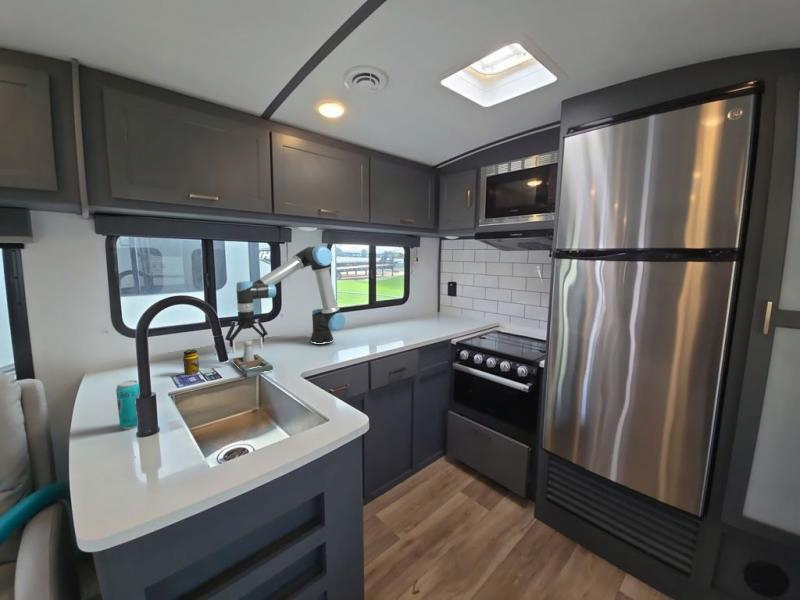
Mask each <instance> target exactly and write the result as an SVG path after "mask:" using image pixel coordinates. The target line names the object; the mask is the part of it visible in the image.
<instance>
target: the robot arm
mask: <svg viewBox="0 0 800 600" xmlns="http://www.w3.org/2000/svg"><path fill="white" fill-rule="evenodd" d="M332 261H333V254H332V251H331V250H330V248H328V247H326V246H322V245H316V246H307V247H305V248H304V249H302V250H300V251H299V252H297V253H296V254H294V255H293V256H292V258H291V259H289V260H288V261H286V262H284V263H283V264H281V265H280V266H278V267H276V268H275V269H273V270H271V271H270V272H268V273H267V274H265V275H264V276H262V277H260V278H258V279H256V281H254V282H252V281H249V280H248V281H247V280H246V281H244V280H243V281H238V282H237V283H236V286H235V287H236V301H237V311H238V312H237V321H234V320H233V321H232V320H231V322H230V323H231V324H230V328H229V329H228V331H227V334H226V336H225V338H224V339H225V341H229V347H230V348H231V351H232V354H236V345H235V344H236V343H235V340H234V339H235V338H236V337H237V336H238V334H240V332H241V331H242V330H247V329H251V328H252V329H253V330H254V331H255V332H256V333H258V335H259V336H258V337H259V339H258V341H259V342H258V343H259V349H261V350H263V349H264V348H263V347H264V345H263V343H265V337H266V336H268V331H266V329H265V327H264V325H263V323H262V320H261V319H260V318H257V319H255V312H254V310H255V309H254V308H255V307H254V300H257V299H271V298H275V297H276V295H277V287H276V286H275V285H277V284H279V283H280V282H282V281H284V279H286V278H287V277H289V276H291V275H292V274H294V273H296V272H297V271H299V270H304V269H305V268H307V267H311V270H312V271H313V272H314V273H315V278H316V282H317V287H318V291H319V294H320V295H319V296H320V300H321V305H322V308H316V309H313V310H312V313H311V315H312V333H311V337H310V342H311V341H312V342H316V343H323V342H330V341H332V340H333V341H334V337H333V334H332V331H333V332H337V331H340V330H342V329H343V328H344V326H345V323H346V317H345V315H344V314H343V313H342V312H341V308H340V307H339V306H338V304H337V301H336V300H337V299H336V297H335V292H334V291H335V290H334V287H333V282H332V277H331V274H330V273H331V272H330V269H331V267H332V265H331V264H332ZM255 323H256V324H257V325H258V326H259V327H260V329H259V328H257V327H256V326H255V325H254V324H255ZM237 325H238V327H237V329H236V330H235V331H234V329H235V327H236V326H237Z"/></svg>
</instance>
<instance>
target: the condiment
mask: <svg viewBox="0 0 800 600" xmlns="http://www.w3.org/2000/svg"><path fill="white" fill-rule="evenodd" d="M197 352H198V351H197V350H196V349H187V350H185V351H183V357H182V360H183V361H182V362H183V372H184V373H183V374H185V375H192V374H196V373H198V372H200V364H199V363H200V362H199V355H198V353H197Z"/></svg>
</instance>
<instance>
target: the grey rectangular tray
mask: <svg viewBox="0 0 800 600" xmlns="http://www.w3.org/2000/svg"><path fill="white" fill-rule="evenodd" d="M253 355H254V359H255V360H253V361H248V362H243V356H239V357H234V358H232V360H233V361H232V362H234V363H235V364H236V365H237V366H238V367H239V368H240V369H241V370H242V371H243V372H244V373H245V374H246V376H245V377H246V378H250V377H251V378H252V377H256V376H259V373H260V372H264V371H270V370H273V371H274V366H273V365H272V364H271V363H269V362H268V361H266V359H264V358H263V357H261V356H260V355H259V354H256V353H255V354H253ZM234 363H233V364H234ZM257 366H262V367H257ZM252 367H257V368H253V369H249V368H252Z"/></svg>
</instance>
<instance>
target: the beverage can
mask: <svg viewBox="0 0 800 600" xmlns="http://www.w3.org/2000/svg"><path fill="white" fill-rule="evenodd" d="M139 391H140V384H139V383H138V381H137V380H126V381H122V382H120V383H117V385H116V390H115V392H116V393H115V394H116V400H117V402H116V403H117V409H118V419H119V424H120V427H121V428H122V429H123V430H132V429H135V428H138V427H137V414H136V407H135V398H136V397H137V396H138V395H139Z"/></svg>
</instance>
